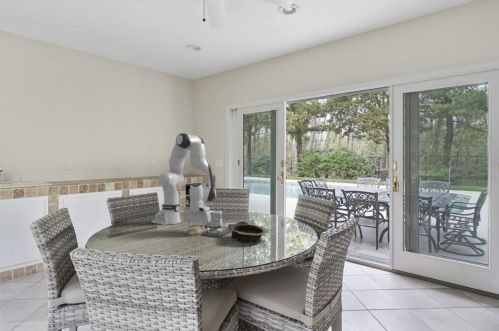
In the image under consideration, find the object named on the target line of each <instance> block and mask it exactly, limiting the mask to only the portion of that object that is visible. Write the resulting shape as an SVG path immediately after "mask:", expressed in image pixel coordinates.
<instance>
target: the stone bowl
mask: <svg viewBox="0 0 499 331" xmlns="http://www.w3.org/2000/svg"><path fill="white" fill-rule="evenodd" d="M229 224H230V225H229ZM229 224H228V226H227V227H229V228H230V229H231V230H232V231H233V232H231V233H230V235H231V239H236V240H237V241H238V242H240V243H242V244H243V243H246V244H247V243H248V244H249V243H258V242H259V241H260V240H261V238H262V236H263V235H266V234H268V233H269V230H268V229H267V228H265V227H263V226H261V225H257V224H250V223H249V222H245V221H239V222H236V223H229Z"/></svg>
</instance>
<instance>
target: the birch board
mask: <svg viewBox="0 0 499 331" xmlns="http://www.w3.org/2000/svg"><path fill="white" fill-rule="evenodd" d="M201 226H202V225H196V226H194V227H193V226H192V228H188V229H186V230H185V232H186V235H190V236H191V235H192V236H194V235H196V234H198V233H202V232H205V231H204V230H205V228H204V229H201Z"/></svg>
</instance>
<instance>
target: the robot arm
mask: <svg viewBox="0 0 499 331" xmlns="http://www.w3.org/2000/svg"><path fill="white" fill-rule="evenodd" d="M188 152H190V153H189V162H190V167H191V168H193V169H194V170H196V171H198V172H202V173H203V174H205V175H206V178H207V184H208V185H207V186H203V185H202V183H199V182H194V183H191V184H190V187H189V191H188V199H189V206H185V207H184V208H183V213H182V220H183V221H184V222H185V221H186V222H187V224H188V229H191V228H193V224H192V222H195V223H201V224H202V225H200V226H201V229H204V230H205V227H206V223H208V222H210V221H211V214H210V211H211V208H210V207H209V205H208V206H207V205H205V204H204V202H213V201H214V200H216V199H217V191H216V187H215V183H214V177H213V172H212V167H211V165H210V164H209V163H208V162H207V158H206V157H207V155H206V154H207V153H206V147H205V141H204V139H203V138H202V137H200V136H197V135H195V134H189V133H185V132H184V133H183V132H182V133H179V134H177V136H176V139H175V143H174V145H173V148H172V150H171V153H170V157H169V160H168V164H169V171H165V172H162V173H161V174H160V175H159V176H158V178H157V179H158V180H157V181H158V184H160V185H161V188H162V191H163V204H161V206H160V207H161V209H160V210H159V211H157V213H155V215H154V219H153V220H151V223H154V224H158V225H164V226H166V225H176V224H180V223H182V220H181V215H180V208H181V204H180V194H179V192H178V189H177V186H179V185H180V184H181V183H183V181H184V180H185V179H184V178H185V177H184V174H183V173H184V171H183V170H184V165H185V161H186V158H187V155H188Z"/></svg>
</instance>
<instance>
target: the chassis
mask: <svg viewBox="0 0 499 331" xmlns="http://www.w3.org/2000/svg"><path fill="white" fill-rule="evenodd" d="M230 224H231V223H229V224H228V225H230ZM232 232H233V231H232V230H231V229H230V228H229V227H228V226H223V225H222V226H221V223H219V226H217V227H212V228H210V227H206V230H205V231H201V236H205V237H212V238H218V239H219V238H223V237H225V236H227V235H229V234H232Z"/></svg>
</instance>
